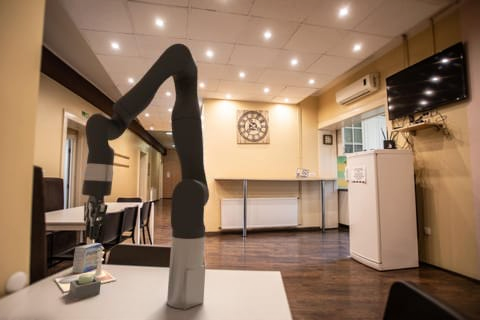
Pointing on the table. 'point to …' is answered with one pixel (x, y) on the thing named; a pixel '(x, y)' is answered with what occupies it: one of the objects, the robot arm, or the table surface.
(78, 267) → the medicine box
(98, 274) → the chess piece
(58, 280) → the sheet
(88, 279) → the button
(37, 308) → the table surface
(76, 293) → the button box
